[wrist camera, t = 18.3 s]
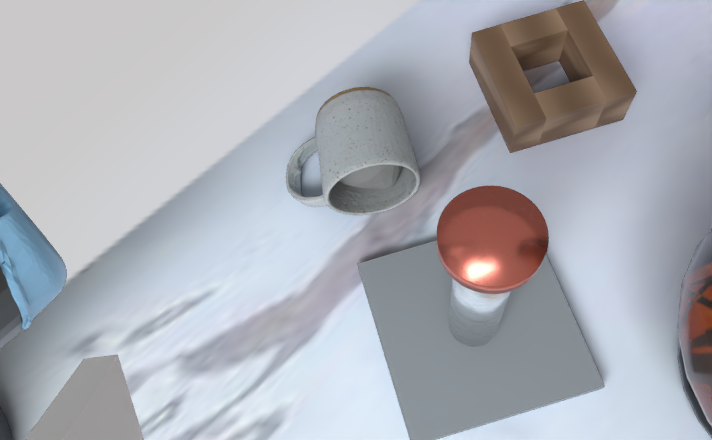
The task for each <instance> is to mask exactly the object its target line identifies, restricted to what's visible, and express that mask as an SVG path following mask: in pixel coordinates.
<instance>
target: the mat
mask: <svg viewBox="0 0 712 440" xmlns="http://www.w3.org/2000/svg"><path fill="white" fill-rule="evenodd" d="M357 265H358V269H359V272H360V275H361V278H362V282H363V285H364V288H365V292H366V295H367V298H368V302H369V305H370V308H371V312H372V315H373V318H374V322H375V325H376V328H377V332H378V335H379V338H380V342H381V345H382V348H383V352H384V355H385V358H386V362H387V365H388V368H389V371H390V375H391V378H392V381H393V385H394V388H395V391H396V395H397V398H398V401H399V405H400V408H401V411H402V415H403V418H404V421H405V425H406V428H407V431H408V435H409V438H410V440H436V439H439V438H443V437H446V436H449V435H452V434H456V433H459V432H462V431H465V430H469V429H472V428H475V427H478V426H482V425H485V424H488V423H491V422H495V421H498V420H501V419H504V418H508V417H511V416H514V415H517V414H521V413H524V412H527V411H530V410H534V409H537V408H540V407H543V406H547V405H550V404H553V403H556V402H560V401H563V400H566V399H570V398H573V397H576V396H579V395H583V394H586V393H589V392H592V391H596V390H599V389H602V388H603V387H604V386H605V385H604V383H603V381H602V379H601V376H600V374H599V372H598V370H597V367H596V365H595V363H594V361H593V358H592V356H591V354H590V352H589V349H588V347H587V345H586V343H585V340H584V338H583V336H582V334H581V331H580V329H579V327H578V325H577V322H576V320H575V318H574V316H573V313H572V311H571V309H570V307H569V304H568V302H567V300H566V298H565V295H564V293H563V291H562V289H561V286H560V284H559V282H558V280H557V277H556V275H555V273H554V271H553V268H552V266H551V264H550V262H549V259H548V257H547V255H546V254H545V257H544V259H543V261H542V264H541V266H540V268H539V270H538V271H537V273H536V274H535V275H534V277H533V278H532V279H531V280H530V281H529V282H527V283H526V284H524V285H523V286H521V287H519V288H518V289H515V290H513V291H511V292H510V295H509V298H508V301H507V303H506V306H505V309H504V312H503V315H502V318H501V321H500V323H499V326H498V329H497V332H496V334H495V336H494V337H493V339H492V340H491V341H489V342H488V343H487V344H485V345H482V346H477V347H471V346H467V345H464V344H462V343H460V342H459V341H457V340H456V339H455V338H454V336H453V335H452V333H451V331H450V329H449V324H448V320H449V309H450V298H451V286H452V277H451V276H450V275H449V274H448V273H447V272H446V270H445V269H444V267H443V265H442V263H441V261H440V259H439V256H438V252H437V240H435V241H432V242H429V243H425V244H422V245H419V246H415V247H412V248H409V249H405V250H402V251H399V252H395V253H392V254H389V255H385V256H382V257H379V258H375V259H372V260H369V261H365V262H362V263H359V264H357Z"/></svg>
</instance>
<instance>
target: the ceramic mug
mask: <svg viewBox="0 0 712 440" xmlns="http://www.w3.org/2000/svg"><path fill="white" fill-rule="evenodd" d="M316 151H318V153H319V161H320V172H321V179H322V190H323V194H322V195H320V196H313V197H304V196H302V195H301V173H302V171H301V168H302V166H303V164H304V163H305V161H306V160H307V159H308V158H309V157H310V156H311V155H312V154H313V153H314V152H316ZM420 180H421V178H420V172H419V168H418V165H417V162H416V159H415V155H414V152H413V148H412V145H411V142H410V139H409V136H408V133H407V129H406V125H405V121H404V118H403V115H402V113H401V111H400V109H399V107H398V105H397V103H396V101H395V100H394V99H393V98H392V97H391V96H390V95H389V94H388V93H386V92H384V91H382V90H379V89H375V88H370V87H359V88H352V89H349V90H345V91H342V92H340V93H338V94H336V95H334V96H332V97H331V98H330V99H328V100H327V101H326V102H325V103H324V104H323V106H322V107H321V108H320V110H319V112H318V115H317V119H316V137H315V138H312V139H310V140H308V141H307V142H305V143H304V144H303V145H301V146H300V147H299V148H298V149H297V150H296V151H295V152H294V154H293V156H292V157H291V159H290V161H289V164H288V167H287V173H286V183H287V188H288V191H289V193H290V194H291V195H292V196H293V198H295V199H296V200H298V201H300V202H301V203H303V204H305V205H307V206H311V207H321V206H327V205H328V206H329V207H330V208H331V209H333V210H335V211H337V212H340V213H343V214H350V215H368V214H375V213H379V212H384V211H387V210H390V209H392V208H395V207H397V206H399V205H401V204H402V203H404V202H406V201H407V200H409V199H410V198H411V197H412V196H413V195H414V194H415V193H416V191H417V190H418V188H419V185H420Z"/></svg>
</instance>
